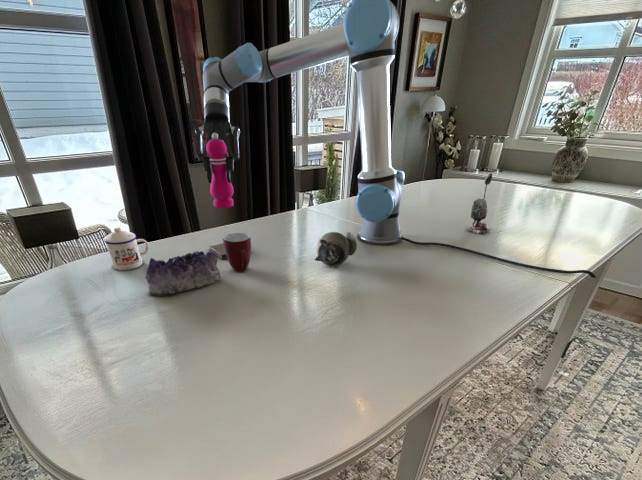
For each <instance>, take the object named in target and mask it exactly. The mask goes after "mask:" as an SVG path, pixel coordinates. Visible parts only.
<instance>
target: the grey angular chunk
mask: <svg viewBox="0 0 642 480" xmlns="http://www.w3.org/2000/svg"><path fill="white" fill-rule="evenodd" d="M208 247H209V252H211V253H214V254H215V255H216V256H217V258H220V259H221V260H226V259H228V258H227V255H226V252H225V249H224V244H223V243H219V244H214V245H211V246H210V245H209V246H208Z"/></svg>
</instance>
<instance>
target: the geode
mask: <svg viewBox="0 0 642 480" xmlns="http://www.w3.org/2000/svg"><path fill="white" fill-rule="evenodd" d="M218 258H219V257H218V256H217V255H215V254H214V253H213V252H211V251H207V252H206V254H205V252H204V251H203V250H201V251H199V249H198V250H195V251H192V252H188V253H185V254H183V255H181V256H180V255H177V256H174V257H171V258H168V260H167V261H165V260H163V259H158V260H156V259H155V258H153V257H150V259H149V263H148V265H147V268H146V274H145V279H146V283H147V284H148V291H149V294H150V295H151V296H160V297H163V296H171V295H173V294H177V293H181V292H184V291H189V290H193V289H196V288H199V289H200V288H201V287H205V286H208V285H211V284H213V283H216V282H218V281H219V280H220V279H221V271H220V269H219V268H218Z"/></svg>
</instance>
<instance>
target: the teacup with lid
mask: <svg viewBox="0 0 642 480" xmlns="http://www.w3.org/2000/svg"><path fill="white" fill-rule="evenodd" d="M103 241H104V243H105V245H106V248H107V251H108V254H109V257H110V260H111V264H112V266H113V268H114V269H115V270H118V271H128V270H134V269H137V268H139V267H140V266H142V265H143V259H142V256H145V255H147V253H148V252H149V248H150V245H149V243H148V241H147V240H145V239H144V238H138V239H137V235H136V234H135V233H134V232H131V231H126V230H124V229H123V230H122V228H121V227H120V226H119V227H118V226H117V227H114V228H113V231H112V232H110V233H109V234H107V235H105V236H104V238H103ZM138 243H144V244H145V250H144V251H142V252H140V249H139V244H138Z"/></svg>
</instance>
